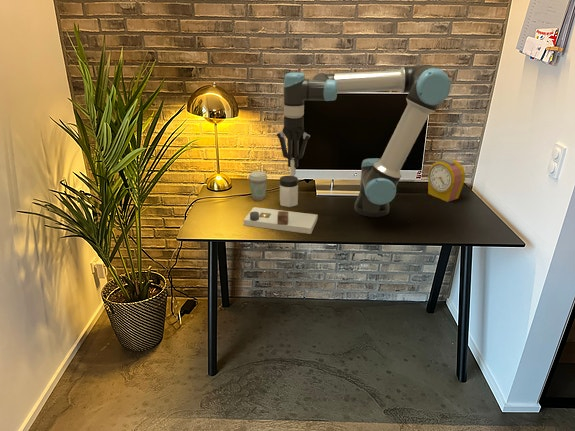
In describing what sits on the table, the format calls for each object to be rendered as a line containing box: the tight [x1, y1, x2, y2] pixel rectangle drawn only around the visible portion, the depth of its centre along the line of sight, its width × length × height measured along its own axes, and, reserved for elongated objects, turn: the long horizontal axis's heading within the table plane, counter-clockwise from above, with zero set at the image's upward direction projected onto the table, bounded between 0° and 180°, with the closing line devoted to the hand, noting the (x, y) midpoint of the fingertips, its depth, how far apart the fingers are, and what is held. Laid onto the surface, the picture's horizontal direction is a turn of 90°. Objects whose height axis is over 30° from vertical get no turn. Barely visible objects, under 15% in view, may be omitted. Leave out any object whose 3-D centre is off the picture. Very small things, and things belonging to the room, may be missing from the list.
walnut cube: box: [277, 210, 288, 225], centre depth 182 cm, size 4×4×4 cm
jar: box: [279, 175, 299, 208], centre depth 204 cm, size 9×8×12 cm
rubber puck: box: [249, 212, 259, 221], centre depth 185 cm, size 4×4×2 cm
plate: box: [243, 206, 319, 235], centre depth 188 cm, size 28×13×2 cm, turn 75°
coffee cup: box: [248, 170, 268, 201], centre depth 209 cm, size 8×8×12 cm
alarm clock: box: [427, 158, 466, 203], centre depth 212 cm, size 15×8×18 cm, turn 33°
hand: (292, 174), depth 181 cm, fingers closed
